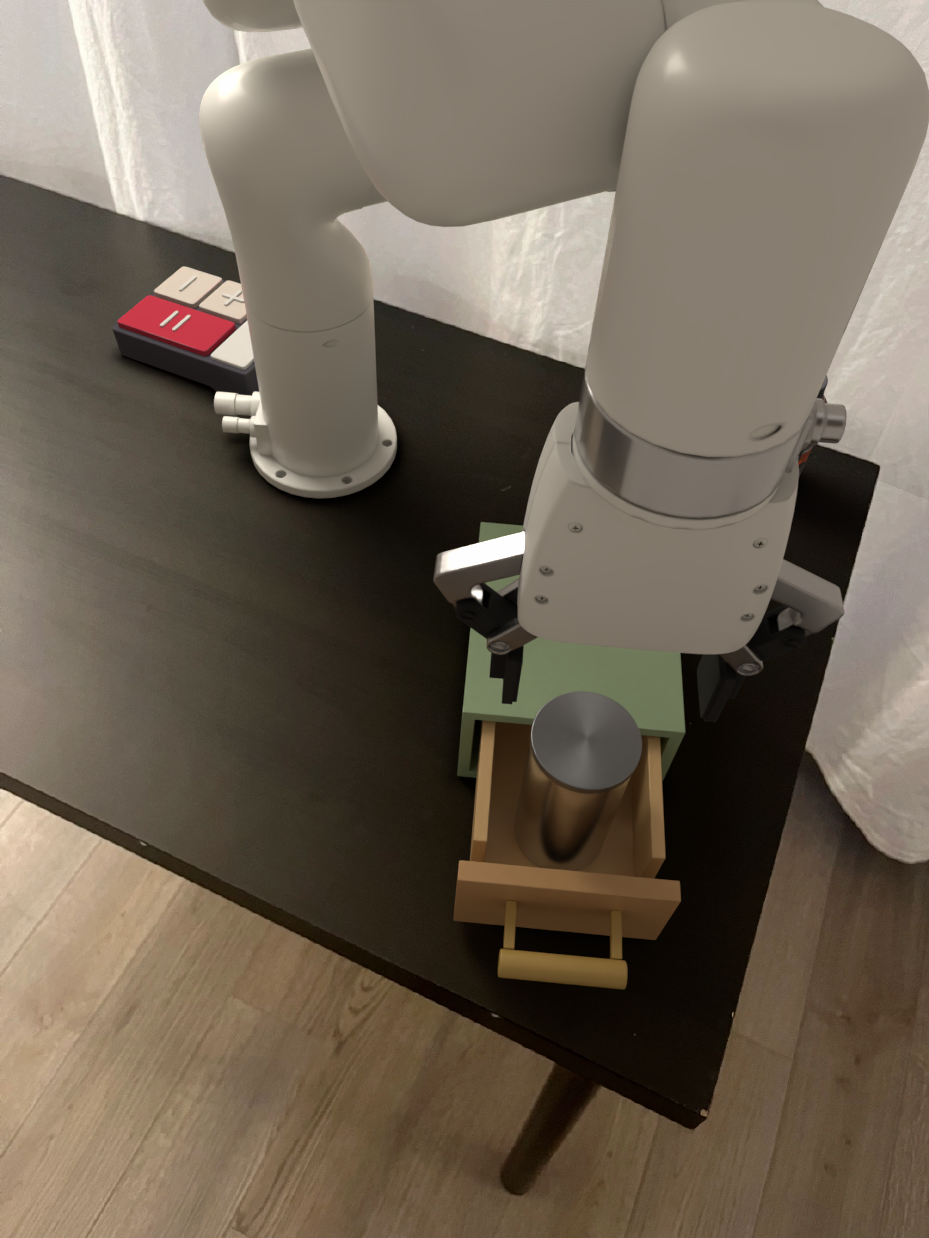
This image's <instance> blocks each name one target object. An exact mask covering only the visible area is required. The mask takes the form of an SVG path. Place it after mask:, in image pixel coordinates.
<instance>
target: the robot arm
mask: <svg viewBox="0 0 929 1238" xmlns="http://www.w3.org/2000/svg"><path fill="white" fill-rule="evenodd" d="M202 3H203V5H204V6H205V7H206V9H207V10H208V12H209V14H210V15H211V16H212V17H213V18H214V19H215V20H216V21H217V22H219V23H220V25H222V26H224V27H225V28H229V29H232V30H234V31H236V32H245V33H271V32H279V31H280V32H281V31H290V30H296V29H301V28H302V29H303V31H304V33H305V36H306V38H307V41H308V43H309V45H310V48H306V49H300V50H296V51H290V52H285V53H278V54H274V55H272V54H271V55H267V56H262V57H259V58H255V59H251V60H248V61H245V62H242V63H240V64H238V65H235V66H232V67H231V68H228V69H227V70H225V71H224V72H221V74H219V75H218V76H217V77H216V78H214V80H213V81H212V82H210V84H209V85H208V87H207V88H206V90H205V92H204V94H203V96H202V98H201V100H200V101H201V102H200V105H199V111H198V125H199V126H198V127H199V132H200V138H201V144H202V147H203V150H204V154H205V158H206V161H207V165H208V167H209V170H210V173H211V176H212V179H213V182H214V185H215V188H216V190H217V193H218V196H219V200H220V202H221V205H222V208H223V211H224V215H225V218H226V219H225V220H226V222H227V225H228V229H229V232H230V233H229V234H230V236H231V241H232V245H233V249H234V250H233V251H234V255H235V258H236V260H235V261H236V265H237V269H238V275H239V280H240V284H241V287H242V293H243V299H244V303H245V309H246V315H247V321H248V327H249V333H250V339H251V345H252V351H253V357H254V363H255V369H256V375H257V381H258V387H259V392H256V391H254V392H253V394H252V396H249V395H239V394H238V393H229V392H216V391H215V395H214V397H213V398H214V399H213V409H214V413H215V414H216V415H221V416H222V421H221V431H222V433H227V434H228V433H229V434H247V435H249V443H248V444H249V450H250V451H249V452H250V456H251V460H252V463H253V466H254V468H255V469H256V470H257V472H258V473H259V475H260V476H261V477H262V478H263V479H264V480H265V481H266V482H267V483H269V484H270V485H271V486H273V487H275V488H276V489H278V490H280V491H283V492H285V493H287V494H290V495H294V496H299V497H301V498H310V499H335V498H338V497H339V498H341V497H344V496H345V497H346V496H348V495H352V494H354V493H358V492H360V491H362V490H365V489H366V488H368V487H370V486H372V485H373V484H375V483H376V482H377V481H379V480H380V479H381V478H382V477H383V476H384V475H385V474H386V473H387V472H388V471H389V470H390V469H391V467H392V464H393V462H394V460H395V459H396V455H397V450H398V436H397V429H396V426H395V424H394V422H393V419H392V418H391V416H390V415H389V413H387V412H386V410H385V409H384V408H383V407H381V406H380V405H379V404H378V381H377V356H376V355H377V354H376V329H375V326H376V325H375V303H374V280H373V270H372V266H371V261H370V259H369V256H368V254H367V252H366V250H365V248H364V246H363V244H362V243H361V241H359V239H358V238H357V237H356V235H355V234H354V233H353V232H352V231H351V230H350V229H349V228H348V227H347V226H346V225H345V224H344V223H343V222H342V221H341V220H340V219H338V218H339V217H340V216H342V215H344V214H348V213H351V212H354V211H358V210H361V209H364V208H367V207H372V206H375V205H379V204H384V203H388V204H390V205H391V206H392V207H393V208H394V209H395V210H398V211H399V212H400V213H401V214H402V215H404V216H405V217H407V218H408V219H411V220H413V221H415V222H417V223H420V224H423V225H427V226H430V227H440V228H457V227H458V228H460V227H467V226H472V225H477V224H482V223H487V222H493V221H497V220H501V219H505V218H508V217H512V216H516V215H520V214H525V213H527V212H532V211H536V210H540V209H544V208H547V207H550V206H554V205H558V204H562V203H566V202H570V201H573V200H577V199H581V198H585V197H589V196H594V195H597V194H601V193H607V192H608V193H614V192H615V193H614V198H613V204H612V210H611V216H610V220H609V221H610V222H609V227H608V232H607V239H606V244H605V245H606V246H605V251H604V258H603V262H602V267H601V268H602V269H601V273H600V274H601V275H600V280H599V284H598V291H597V296H596V303H595V308H594V312H593V320H592V325H591V330H590V338H589V342H588V343H589V344H588V348H587V355H586V361H585V366H584V371H583V372H584V373H583V377H582V384H581V389H580V395H579V399H578V400H579V401H575V402H571V403H569V404H568V405H566V406H565V407H564V408H563V409H561V410H560V412H558V414H557V416H556V417H555V420H554V422H553V424H552V426H551V428H550V430H549V432H548V434H547V437H546V439H545V442H544V446H543V447H542V450H541V453H540V456H539V459H538V462H537V466H536V468H535V473H534V476H533V480H532V484H531V488H530V491H529V495H528V500H527V505H526V510H525V515H524V519H523V524H522V526H523V530H522V532H521V533H517V534H513V535H509V536H505V537H501V538H497V539H493V540H489V541H485V542H481V543H479V542H477V543H473V544H469V545H466V546H461V547H458V548H457V547H456V548H454V549H450V550H446V551H442V552H439V553H438V554H437V555H436V556H435V563H434V569H433V570H434V571H433V576H432V577H433V579H432V581H433V584H434V585H435V586H436V587H437V589H438V590H439V592H441V595H442V596H443V598H445V599H446V601H447V602H448V603H449V604H451V605H452V606H453V607H454V609H455V611H454V615H455V617H456V618H457V619H458V620H460V622H461V623H463V624H465V625H466V626H468V628H469V629H470V628H472V629H473V630H475V631H476V632H477V633H479V634H480V635H482V636H483V637H485V638H486V639H487V649H488V651H490V652H491V662H490V675H489V678H498V679H503V690H502V704H512V702H517V696H518V689H519V683H520V677H521V670H522V663H523V650H524V645H525V644H527V643H529V642H531V641H532V640H534V639H536V638H538V637H540V638H542V639H546V640H551V641H557V642H565V643H574V644H584V645H594V646H605V647H616V648H627V649H638V650H651V651H663V652H676V653H680V654H692V655H702V656H701V658H700V660H699V663H698V664H697V668H696V675H697V676H696V679H697V680H696V681H697V692H698V704H699V716H700V717H699V718H700V719H703V720H704V722H707V723H709V722H711V723H717V721H718V720H719V719H720V716H721V714H722V711H723V709H724V708H725V706H726V704H727V702H728V699H729V700H735V699H736V698H737V695H738V694H739V691H740V690H741V687H742V685H743V684H744V681H745V679H746V677H752V676H756V675H758V674H760V673H761V672H762V671H763V670H764V662H765V661H766V662H767V661H768V660H771V659H774V658H777V657H780V656H781V655H784V654H787V653H790V652H793V651H795V650H798V649H800V648H803V647H804V646H805V645H806V643H807V637H808V636H810V635H816V634H818V633H819V632H821V631H822V630H824V629H826V628H827V627H829V626H830V625H832V624H833V623H835V622H837V621H838V620H840V619H842V618H843V617H844V616H845V607H844V602H843V597H842V592H841V588H840V587H839V586H838V585H836V584H834V583H833V582H830V581H828V580H826V579H824V578H822V577H820V576H818V575H816V574H814V573H812V572H810V571H808V570H807V569H805V568H802V567H801V566H798V565H796V564H794V563H792V562H791V561H788V560H786V559H785V558H784V557H785V554H786V550H787V545H788V542H789V537H790V533H791V528H792V523H793V519H794V514H795V507H796V503H797V497H798V489H799V479H800V476H799V466H798V455H799V453H800V452H801V451H802V450H803V449H804V448H805V447H807V446H808V445H813V447H814V446H817V445H818V444H819V443H823V444H838V443H840V441H841V440H842V438H843V436H844V433H845V430H846V426H847V418H848V417H847V409H846V406H845V405H844V404H841V403H840V404H839V403H828V402H827V403H825V402H824V400H823V399H819V398H817V396H818V393H819V391H820V389H821V386H822V384H823V382H824V379H825V377H826V375H827V374H828V373H829V370H830V368H831V365H832V362H833V361H834V358H835V356H836V354H837V352H838V349H839V346H840V344H841V342H842V340H843V337H844V335H845V333H846V331H847V328H848V326H849V323H850V320H851V318H852V316H853V314H854V311H855V308H856V306H857V304H858V301H859V299H860V297H861V294H862V292H863V290H864V288H865V285H866V283H867V282H868V279H869V276H870V273H871V272H872V269H873V266H874V264H875V262H876V259H877V257H878V255H879V252H880V250H881V248H882V245H883V243H884V240H885V238H886V236H887V234H888V232H889V229H890V227H891V224H892V222H893V220H894V217H895V215H896V212H897V210H898V208H899V205H900V203H901V202H902V198H903V196H904V194H905V192H906V189H907V187H908V184H909V182H910V180H911V178H912V175H913V173H914V171H915V167H916V165H917V162H918V159H919V158H920V154H921V152H922V149H923V146H924V143H925V140H926V138H927V135H928V134H927V133H928V129H929V85H928V82H927V78H926V73H925V71H924V69H923V68H922V66H921V64H920V63H919V61H918V60H917V58H916V57H915V56H914V54H913V53H912V52H911V51H910V50H909V48H907V46H906V45H904V43H903V42H902V41H900V40H899V39H898V38H896V37H895V36H893V35H892V34H891V33H889V32H888V31H886V30H884V29H882V28H880V27H878V26H877V25H874V24H872V23H870V22H867V21H865V20H863V19H861V18H859V17H856V16H853V15H852V14H848V13H846V12H841V11H838V10H836V9H832V8H829V7H825V6H824V5H823V4H822V3H821V2H820V1H819V0H202ZM827 376H828V375H827ZM238 416H247V417H250V418H243V417H242V418H241V417H238ZM516 575H520V576H519V578H518V579H517V580H515V581H514V582H512V583H510V584H509V585H507V586H505V587H504V588H502V589H500V590H499V591H497V592H496V591H495V590H493V589H492V588H491V587H489V586H488V585H487V584H485V583H486V582H491V581H495V580H499V579H504V578H508V577H512V576H516ZM771 600H772V601H775V602H777V603H779V604H781V605H779V606H778V607H775V608H772V609H770V610H767V609H768V607H769V604H770V601H771Z"/></svg>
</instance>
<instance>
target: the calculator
mask: <svg viewBox="0 0 929 1238" xmlns="http://www.w3.org/2000/svg"><path fill="white" fill-rule="evenodd" d="M112 332H113V335H114V338H115V341H116V344H117V347H118V350H119V352H120V355H121V356H124V357H126V358H129V359H132V360H134V361H138V362H141V363H143V364H146V365H149V366H152V367H155V368H158V369H159V370H163V371H165V372H169V373H172V374H174V375H177V376H180V377H183V378H186V379H188V380H191V381H194V382H197V383H200V384H202V385H206V386H208V387H210V388H211V389H212V390H213V391H215V393H216V392H229V393H238V394H239V395H249V396H252V394H253V392H254V391H256V392H259V387H258V381H257V375H256V369H255V363H254V357H253V351H252V345H251V339H250V333H249V327H248V321H247V315H246V309H245V303H244V299H243V293H242V287H241V282H240V283H239V282H236V281H233V280H228V279H227V280H224V279H223V278H222V277H220V276H218V275H214V274H210V273H207V272H204V271H201V270H198V269H195V268H191V267H189V266H181V267H180V268H179V269H178V270H176V271H175V272H174V273H173V274H171V275H170V276H169V277H167V278H166V279H165V280H164V281H163V282H162V283H161V284H159V285H158V286H157V287H156V288H155V289H154V290H153V292H152V293H151V294H148V295H146V296H145V297H144V298H142V299H141V300H140V301H139V302H138V303H136V304H135V305H134V306H133V307H132V308H130V309H129V310H128V311H127V312H126V313H125V314H123V315H122V316H121V317H119V318H118V319H117V321H116V323H115V324H114V325H113V326H112Z"/></svg>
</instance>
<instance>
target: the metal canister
mask: <svg viewBox="0 0 929 1238" xmlns="http://www.w3.org/2000/svg"><path fill="white" fill-rule="evenodd" d="M641 752H642V739H641V734H640V731H639V728H638V726H637V724H636V722H635V720H634V719H633V717H632V716H631V715H630V713H629V712H628V711H627V710H626V709H625V708H624V707H623V706H621V705H620V704H619V703H617V702H616V701H614V700H612V699H610V698H608V697H606V696H604V695H601V694H597V693H593V692H586V691H577V692H569V693H565V694H562V695H559V696H557V697H555V698H553V699H552V700H550V701H548V702H547V703H546V704H545V705H544V706H543V707H542V708H541V709H540V710H539V712H538V713H537V715H536V716H535V719H534V721H533V724H532V728H531V733H530V747H529V751H528V756H527V761H526V766H525V771H524V776H523V781H522V786H521V790H520V795H519V800H518V805H517V810H516V815H515V820H514V835H515V839H516V842H517V845H518V847H519V849H520V850H521V852H522V853H523V854H524V856H525V857H526V858H527V859H528V860H529V861H530V862H531V863H533V864H534V865H536V866H537V867H539V868H547V869H558V870H568V871H579V870H581V869H583V868H585V867H587V866H588V865H590V864H591V863H592V862H593V861H594V860H595V859H596V858H597V856H598V855H599V853H600V851H601V849H602V847H603V844H604V842H605V839H606V837H607V834H608V832H609V829H610V827H611V824H612V822H613V819H614V817H615V814H616V812H617V810H618V807H619V805H620V802H621V800H622V797H623V795H624V792H625V790H626V787H627V785H628V782H629V780H630V777H631V775H632V774H633V773H634V771H635V769H636V767H637V765H638V763H639V760H640V757H641Z"/></svg>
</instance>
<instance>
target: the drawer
mask: <svg viewBox="0 0 929 1238" xmlns="http://www.w3.org/2000/svg"><path fill="white" fill-rule="evenodd" d="M531 728H532V725H528V724H517V723H506V722H495V721H485V720H481V730H480V742H479V754H478V766H477V778H475V779H476V780H475V791H474V792H475V793H474V805H473V817H472V826H471V827H472V830H471V842H470V853H469V860H463V859H462V860H461V859H460V860H459V861H458V869H457V879H456V886H455V887H456V888H455V898H454V908H453V921H454V922H463V923H464V922H465V923H473V924H483V925H491V926H493V925H494V926H503V944H502V946H503V947H502V948H500V949H499V953H498V960H497V977H498V978H502V979H511V980H520V981H531V982H541V983H553V984H561V985H573V986H582V987H594V988H603V989H612V990H613V989H614V990H625V989H626V987H627V985H628V975H629V974H628V964H627V961H626V960H623V938H630V939H639V940H650V941H656V940H657V939H658V938H659V936H660V934H661V933H662V931H663V929H664V928H665V927H666V926H667V923H668V922H669V921H670V919H671V917H672V916H673V914H674V913H675V911H676V910H677V908H678V907H679V905H680V903H681V902H682V894H681V893H682V892H681V882H680V880H674V879H673V880H671V879H662V878H656V876H657V875H658V873H659V871H660V870H661V867H662V866H663V863H665V862H664V861H666V859H667V858H666V837H665V816H664V795H663V794H664V792H663V782H662V769H661V746H660V737H657V736H646V735H641V739H642V752H641V757H640V760H639V763H638V765H637V767H636V769H635V771H634V773H633V774H632V775H631V777H630V780H629V782H628V785H627V787H626V790H625V792H624V795H623V797H622V800H621V802H620V805H619V807H618V810H617V812H616V814H615V817H614V819H613V822H612V824H611V827H610V829H609V832H608V834H607V837H606V839H605V842H604V844H603V847H602V849H601V851H600V853H599V855H598V856H597V858H596V859H595V860H594V861H593V862H592V863H591V864H590V865H588V866H587V867H585V868H583V869H581V870H579V871H568V870H558V869H547V868H539V867H537V866H536V865H534V864H533V863H531V862H530V861H529V860H528V859H527V858H526V857H525V856H524V854H523V853H522V852H521V850H520V849H519V847H518V845H517V842H516V839H515V835H514V820H515V815H516V810H517V805H518V800H519V795H520V790H521V786H522V781H523V776H524V771H525V766H526V761H527V756H528V751H529V747H530V733H531ZM516 928H526V929H535V930H545V931H546V930H547V931H556V932H566V933H577V934H588V935H596V936H597V935H599V936H609V958H604V957H603V958H602V957H601V958H600V957H593V956H582V955H581V956H580V955H571V954H570V955H569V954H561V953H560V954H558V953H549V952H539V951H528V950H520V949H519V950H518V949H515V946H516Z"/></svg>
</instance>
